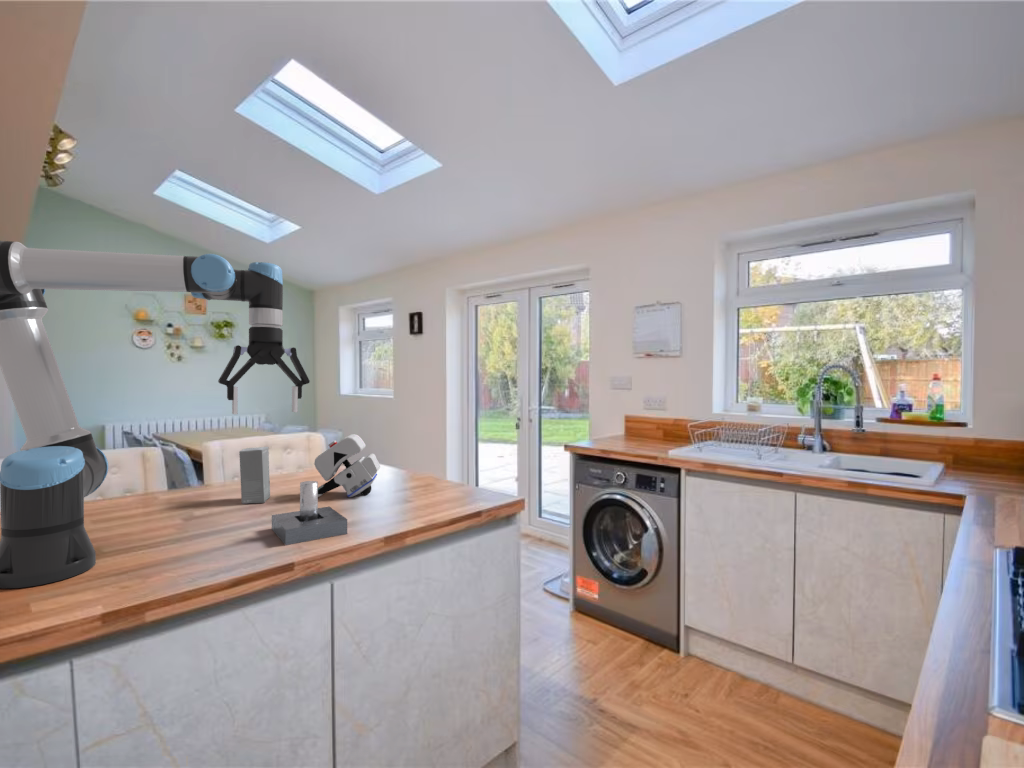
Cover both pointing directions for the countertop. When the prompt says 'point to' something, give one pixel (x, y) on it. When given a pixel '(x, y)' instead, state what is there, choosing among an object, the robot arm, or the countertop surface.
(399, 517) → the countertop surface
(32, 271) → the robot arm
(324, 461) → the robotic device
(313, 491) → the grey black cylinder
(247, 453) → the product box
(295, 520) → the chuck block
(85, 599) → the countertop surface
